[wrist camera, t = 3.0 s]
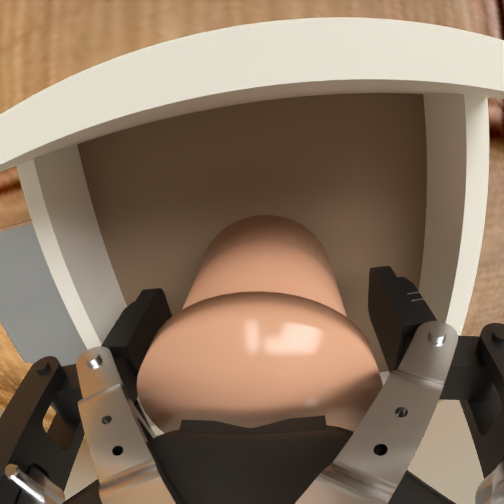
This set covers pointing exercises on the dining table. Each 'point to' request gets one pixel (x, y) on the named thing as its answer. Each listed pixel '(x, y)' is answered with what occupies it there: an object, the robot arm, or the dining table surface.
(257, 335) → the tan capped cylinder
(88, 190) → the drawer
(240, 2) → the dining table surface
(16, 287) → the slate tile
